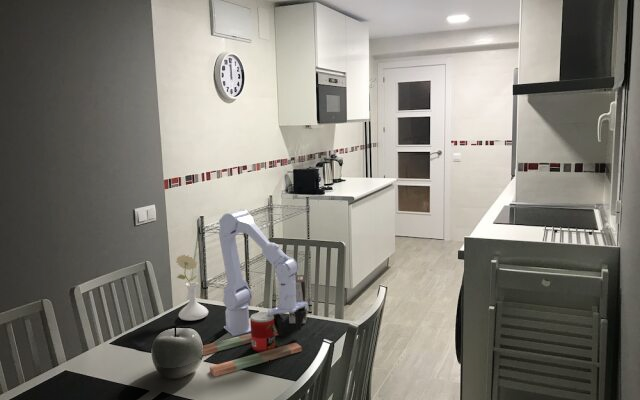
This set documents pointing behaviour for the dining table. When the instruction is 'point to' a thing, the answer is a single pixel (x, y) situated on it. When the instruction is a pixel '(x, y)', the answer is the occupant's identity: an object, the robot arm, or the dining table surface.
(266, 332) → the canned food
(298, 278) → the coffee box
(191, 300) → the flower in vase
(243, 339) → the orange green bars
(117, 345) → the dining table surface
